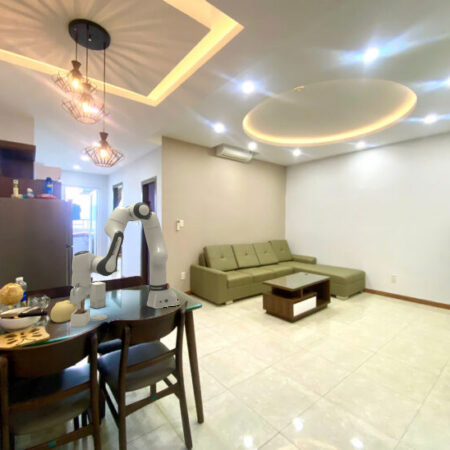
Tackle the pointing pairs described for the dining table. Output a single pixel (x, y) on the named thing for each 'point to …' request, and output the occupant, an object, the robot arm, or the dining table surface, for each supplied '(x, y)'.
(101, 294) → the skincare box
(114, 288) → the dining table surface
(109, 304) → the dining table surface
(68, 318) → the pale yellow rounded lump
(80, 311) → the dowel
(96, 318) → the coaster
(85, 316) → the pen cup
